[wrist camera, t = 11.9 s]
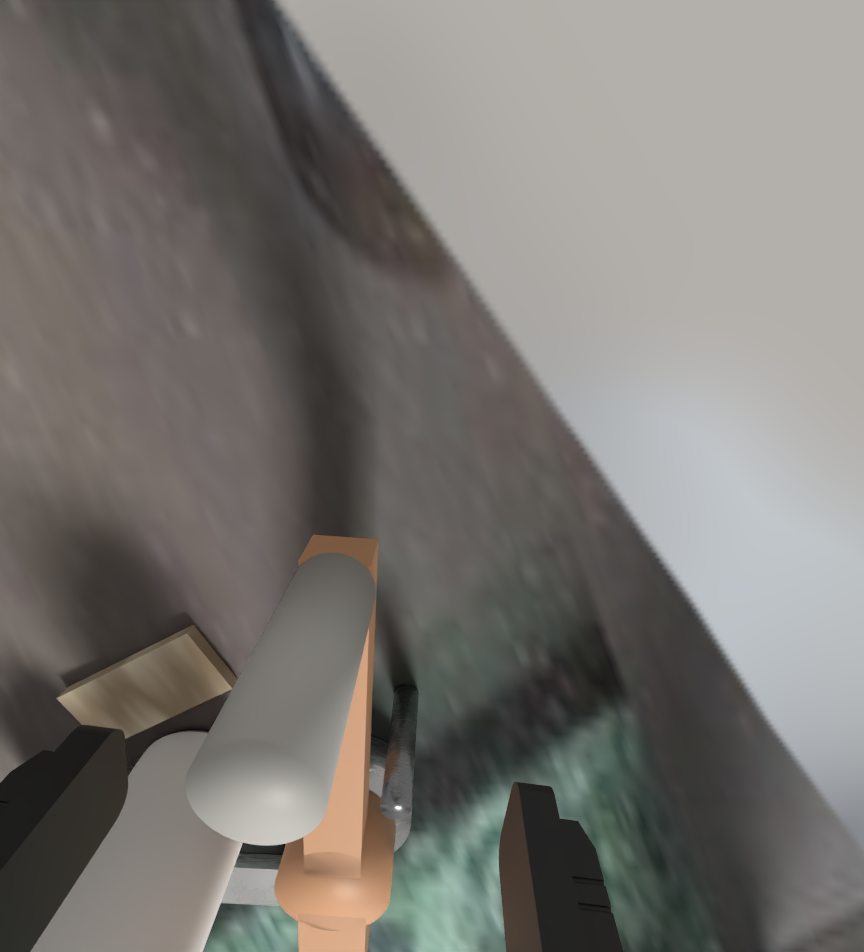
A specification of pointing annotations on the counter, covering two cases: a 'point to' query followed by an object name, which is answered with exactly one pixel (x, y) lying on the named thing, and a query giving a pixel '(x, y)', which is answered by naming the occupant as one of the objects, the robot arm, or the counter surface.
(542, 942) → the robot arm
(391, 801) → the crusher base
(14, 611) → the counter surface
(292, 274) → the counter surface
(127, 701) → the slat
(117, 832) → the can
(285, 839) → the lever
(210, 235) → the counter surface
